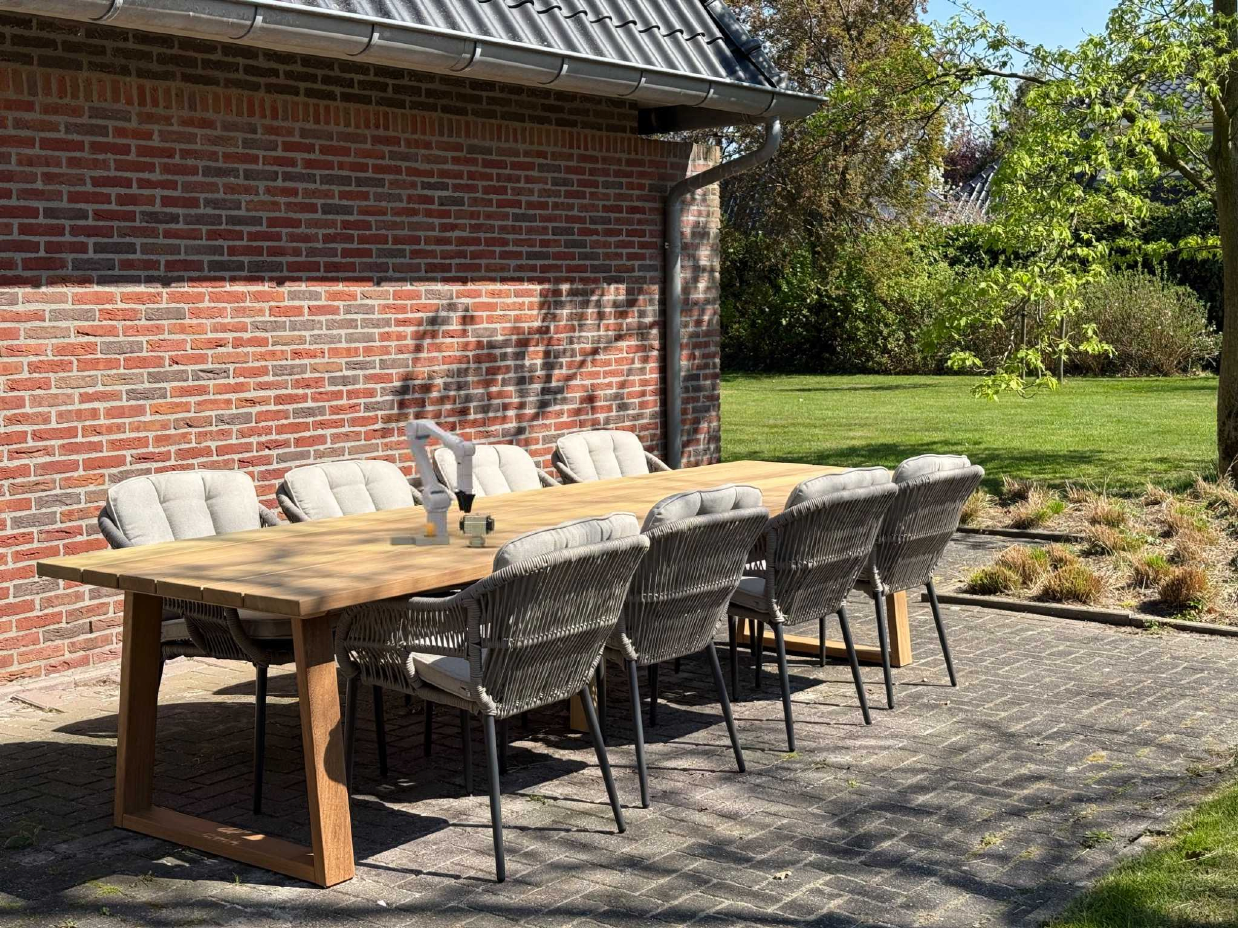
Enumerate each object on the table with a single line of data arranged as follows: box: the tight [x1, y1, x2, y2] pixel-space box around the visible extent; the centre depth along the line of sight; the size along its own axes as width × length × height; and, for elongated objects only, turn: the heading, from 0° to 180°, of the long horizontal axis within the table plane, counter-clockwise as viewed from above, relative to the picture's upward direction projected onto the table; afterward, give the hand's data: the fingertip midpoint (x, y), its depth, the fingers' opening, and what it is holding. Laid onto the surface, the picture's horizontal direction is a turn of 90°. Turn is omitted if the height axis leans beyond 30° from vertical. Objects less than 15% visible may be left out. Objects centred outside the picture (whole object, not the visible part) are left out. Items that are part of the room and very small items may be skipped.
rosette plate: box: [389, 533, 451, 547], centre depth 532 cm, size 12×20×2 cm, turn 107°
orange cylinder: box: [425, 522, 435, 537], centre depth 533 cm, size 3×3×7 cm
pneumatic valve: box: [458, 512, 496, 548], centre depth 522 cm, size 6×12×12 cm, turn 82°
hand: (465, 511), depth 542 cm, fingers open, 7 cm apart
